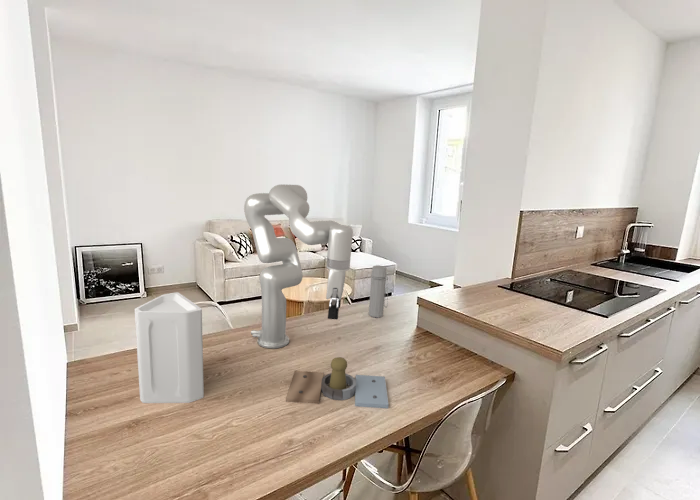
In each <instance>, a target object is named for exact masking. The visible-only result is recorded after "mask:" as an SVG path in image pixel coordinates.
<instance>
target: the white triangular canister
mask: <svg viewBox="0 0 700 500" xmlns="http://www.w3.org/2000/svg"><path fill="white" fill-rule="evenodd" d="M134 321H135V322H134V325H135V335H136V355H137V369H138V370H137V373H138V384H139V385H138V387H139V388H138V389H139V400H140V402H141V403H142V404H188V403H189V404H190V403H192V402H195V401H198V400H201V399H203V398H204V397H205V393H204V392H205V391H204V390H205V389H204V355H203V354H204V353H203V351H204V350H203V346H204V345H203V343H204V342H203V308H201V307H200V306H198V305H197V304H196V303H195V302H193V301H192V300H190V299H189V298H187V297H186V296H185V295H184V294H182V293H180V292H179V291H176V292H171V293H164V294H161V295H159V296H156V298H153V299H151V300H149V301H147V302H145V303H144V304H141V305H139V306H138V307H135V308H134Z"/></svg>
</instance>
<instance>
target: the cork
mask: <svg viewBox="0 0 700 500" xmlns="http://www.w3.org/2000/svg"><path fill="white" fill-rule="evenodd" d="M330 366H331V372H330V373H331V378H330V383H329V384H328V387H330V388H332V389H338V390H343V389H347V388H348V387H347V384H346V374H347V373H346V369H347V367H348V361H347V359H345V358H344V357H339V356H338V357H334V358H333V359H332V360H331V362H330Z"/></svg>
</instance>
